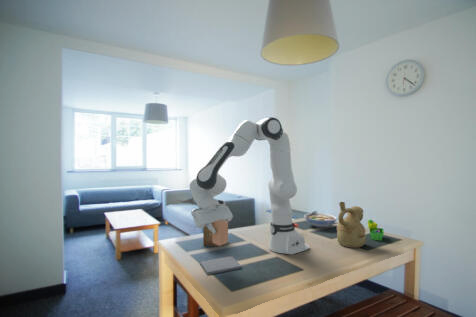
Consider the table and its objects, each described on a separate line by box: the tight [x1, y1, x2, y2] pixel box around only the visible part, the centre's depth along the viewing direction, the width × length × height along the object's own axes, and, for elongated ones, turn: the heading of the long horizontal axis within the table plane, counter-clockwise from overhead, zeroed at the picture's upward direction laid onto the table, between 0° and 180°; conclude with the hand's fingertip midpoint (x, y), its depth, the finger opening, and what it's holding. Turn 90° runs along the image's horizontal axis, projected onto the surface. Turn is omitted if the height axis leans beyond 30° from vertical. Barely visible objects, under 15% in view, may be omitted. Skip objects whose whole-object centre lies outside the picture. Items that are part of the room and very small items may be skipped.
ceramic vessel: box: [336, 201, 367, 249], centre depth 143 cm, size 17×20×25 cm
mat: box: [199, 255, 243, 276], centre depth 114 cm, size 16×12×1 cm
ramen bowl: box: [303, 210, 338, 229], centre depth 180 cm, size 25×23×8 cm
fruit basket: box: [366, 219, 385, 242], centre depth 154 cm, size 11×9×11 cm
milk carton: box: [202, 225, 223, 247], centre depth 145 cm, size 11×11×19 cm
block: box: [212, 220, 229, 247], centre depth 114 cm, size 5×5×10 cm
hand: (221, 231), depth 113 cm, fingers closed on block, 5 cm apart
